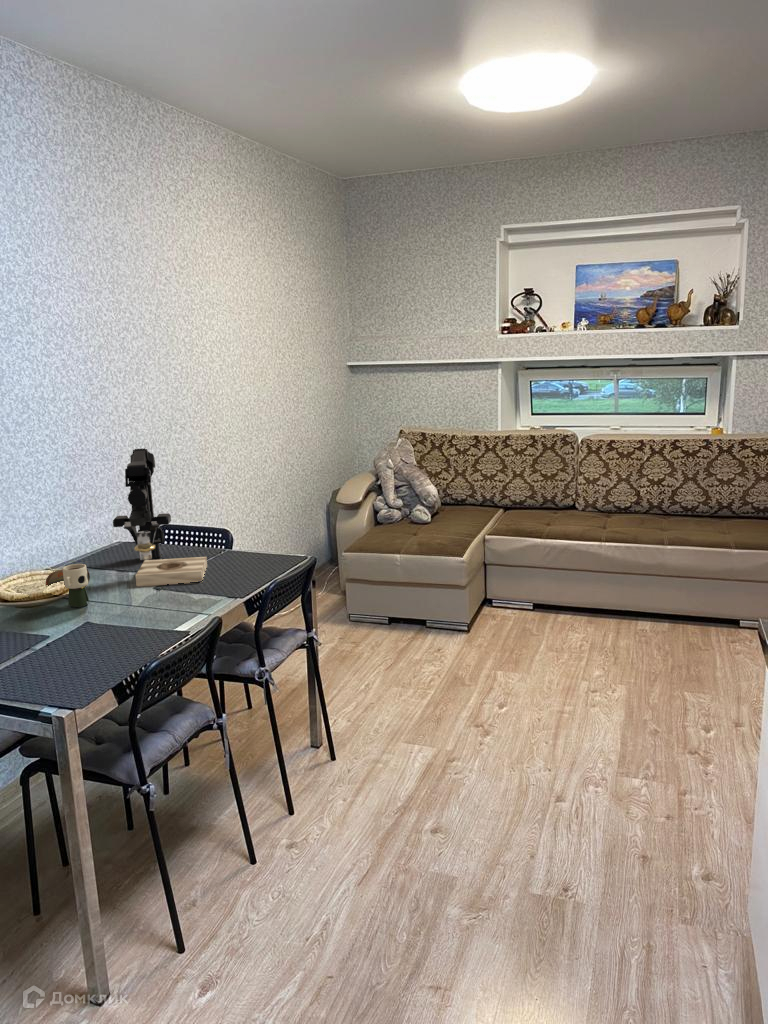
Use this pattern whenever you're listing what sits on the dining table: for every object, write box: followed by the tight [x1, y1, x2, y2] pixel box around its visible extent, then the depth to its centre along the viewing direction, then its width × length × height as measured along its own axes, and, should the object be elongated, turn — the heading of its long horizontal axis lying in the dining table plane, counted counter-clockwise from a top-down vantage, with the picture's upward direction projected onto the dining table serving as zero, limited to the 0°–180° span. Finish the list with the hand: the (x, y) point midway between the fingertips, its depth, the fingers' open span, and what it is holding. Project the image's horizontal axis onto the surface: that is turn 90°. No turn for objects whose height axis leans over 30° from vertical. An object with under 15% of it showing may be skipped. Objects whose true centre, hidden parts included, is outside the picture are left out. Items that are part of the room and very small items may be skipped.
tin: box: [45, 569, 91, 588], centre depth 263 cm, size 15×3×8 cm, turn 143°
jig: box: [135, 556, 208, 587], centre depth 277 cm, size 18×22×4 cm
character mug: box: [61, 563, 90, 608], centre depth 249 cm, size 11×7×13 cm, turn 173°
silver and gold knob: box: [134, 531, 155, 561], centre depth 274 cm, size 7×7×9 cm
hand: (144, 544), depth 274 cm, fingers closed on silver and gold knob, 5 cm apart
